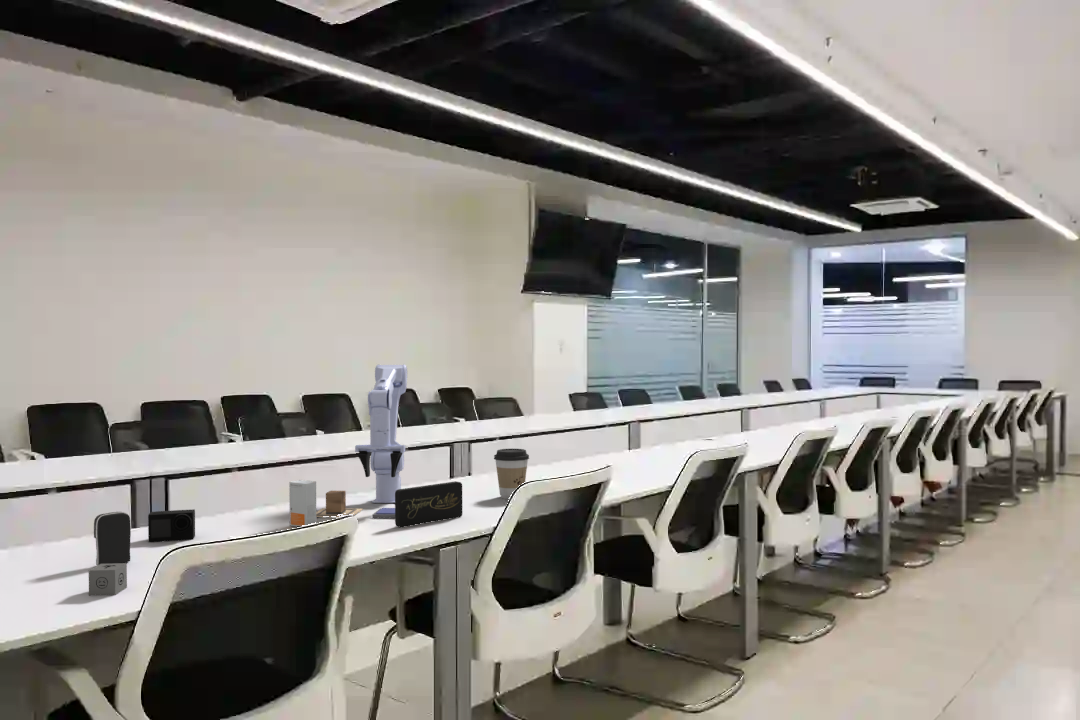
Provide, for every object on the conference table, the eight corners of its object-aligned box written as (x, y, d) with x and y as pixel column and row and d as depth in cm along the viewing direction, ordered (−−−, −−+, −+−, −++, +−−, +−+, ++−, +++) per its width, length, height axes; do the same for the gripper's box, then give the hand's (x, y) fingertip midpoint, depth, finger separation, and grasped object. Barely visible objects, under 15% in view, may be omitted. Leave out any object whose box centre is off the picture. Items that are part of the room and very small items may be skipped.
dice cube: (126, 588, 164) (126, 563, 164) (115, 595, 159) (115, 569, 159) (101, 588, 164) (101, 563, 164) (88, 596, 159) (88, 570, 159)
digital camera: (147, 543, 201) (146, 515, 201) (150, 539, 206) (150, 511, 206) (192, 540, 204) (192, 512, 204) (195, 536, 209) (194, 508, 209)
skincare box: (288, 526, 220) (288, 481, 220) (300, 523, 224) (300, 479, 224) (305, 528, 217) (305, 483, 217) (317, 525, 221) (316, 481, 221)
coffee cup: (514, 502, 253) (514, 453, 253) (486, 498, 260) (486, 450, 260) (536, 496, 262) (536, 449, 262) (509, 492, 269) (509, 447, 269)
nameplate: (399, 528, 218) (398, 490, 217) (395, 527, 219) (394, 489, 219) (462, 517, 232) (462, 481, 232) (458, 516, 233) (458, 480, 233)
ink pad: (380, 511, 239) (380, 507, 239) (411, 512, 238) (411, 507, 238) (372, 518, 230) (372, 513, 230) (403, 518, 229) (403, 513, 229)
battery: (125, 559, 186) (124, 509, 186) (131, 562, 184) (131, 511, 183) (92, 565, 181) (91, 513, 181) (98, 568, 178) (97, 516, 178)
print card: (322, 509, 243) (322, 507, 242) (362, 509, 242) (362, 508, 242) (308, 518, 231) (308, 516, 231) (350, 518, 230) (350, 516, 230)
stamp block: (330, 511, 238) (330, 490, 238) (345, 511, 238) (345, 490, 238) (325, 514, 234) (325, 493, 234) (341, 514, 233) (340, 493, 233)
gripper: (351, 431, 237) (352, 478, 238) (401, 432, 236) (401, 479, 237) (359, 429, 244) (359, 474, 245) (406, 429, 243) (407, 475, 244)
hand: (380, 476), depth 241 cm, fingers open, 7 cm apart
